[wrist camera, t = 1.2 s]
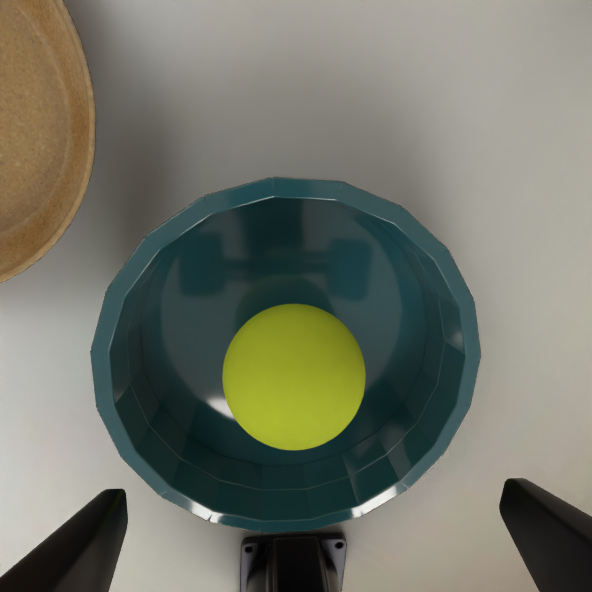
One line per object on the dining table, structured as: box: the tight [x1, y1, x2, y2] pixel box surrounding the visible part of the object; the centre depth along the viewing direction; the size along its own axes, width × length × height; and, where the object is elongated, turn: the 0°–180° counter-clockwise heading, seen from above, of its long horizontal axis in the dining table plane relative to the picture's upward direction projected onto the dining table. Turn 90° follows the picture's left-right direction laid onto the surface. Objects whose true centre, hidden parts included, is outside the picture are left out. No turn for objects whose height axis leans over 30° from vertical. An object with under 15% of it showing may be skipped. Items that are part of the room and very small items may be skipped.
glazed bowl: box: [90, 177, 481, 533], centre depth 17 cm, size 16×16×4 cm
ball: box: [222, 304, 366, 450], centre depth 15 cm, size 6×6×6 cm
